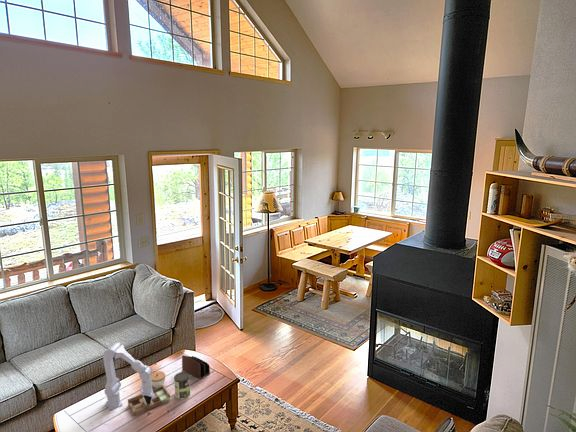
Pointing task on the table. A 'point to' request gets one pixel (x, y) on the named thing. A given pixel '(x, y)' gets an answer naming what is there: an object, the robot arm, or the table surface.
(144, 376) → the robot arm
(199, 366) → the letter holder
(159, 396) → the board
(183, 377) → the coffee can
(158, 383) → the lidded jar
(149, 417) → the table surface
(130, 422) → the table surface
